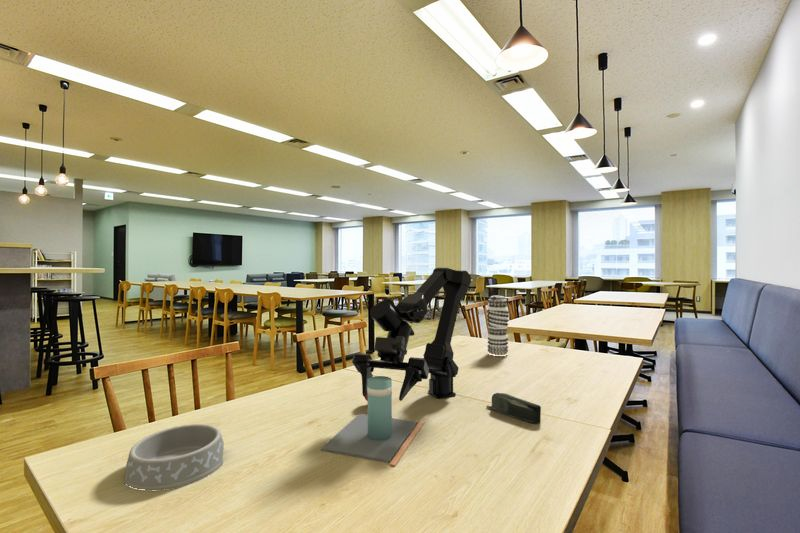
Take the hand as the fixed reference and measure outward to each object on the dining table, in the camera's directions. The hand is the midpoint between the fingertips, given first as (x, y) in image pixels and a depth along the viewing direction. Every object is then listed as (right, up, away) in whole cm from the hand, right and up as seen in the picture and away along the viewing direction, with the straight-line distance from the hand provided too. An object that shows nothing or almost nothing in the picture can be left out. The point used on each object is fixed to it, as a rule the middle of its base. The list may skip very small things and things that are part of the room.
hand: (381, 397), depth 93 cm
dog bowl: (-41, -10, -13) cm, 44 cm away
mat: (-2, -9, 0) cm, 9 cm away
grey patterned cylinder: (+46, -7, +76) cm, 89 cm away
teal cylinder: (0, -8, -1) cm, 8 cm away
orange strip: (+6, -9, -3) cm, 11 cm away
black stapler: (+34, -9, +11) cm, 37 cm away
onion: (-3, -9, +19) cm, 21 cm away
